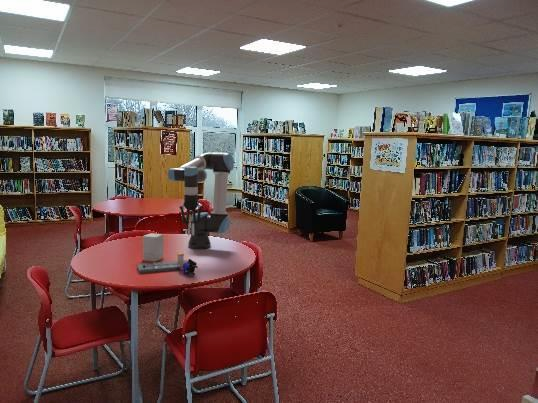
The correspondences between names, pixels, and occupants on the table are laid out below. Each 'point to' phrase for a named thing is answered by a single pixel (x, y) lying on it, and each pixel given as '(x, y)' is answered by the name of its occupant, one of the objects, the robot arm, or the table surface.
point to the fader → (179, 257)
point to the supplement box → (152, 247)
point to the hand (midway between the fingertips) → (190, 234)
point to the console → (158, 267)
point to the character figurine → (188, 266)
